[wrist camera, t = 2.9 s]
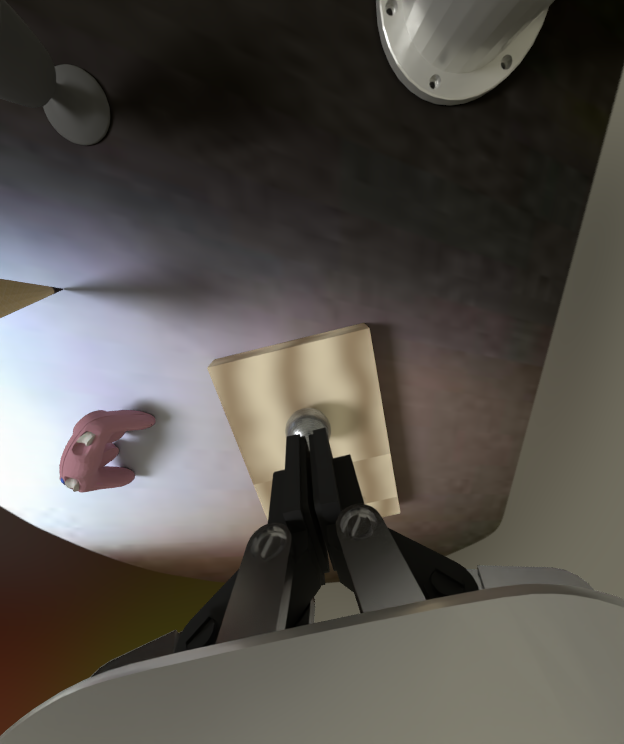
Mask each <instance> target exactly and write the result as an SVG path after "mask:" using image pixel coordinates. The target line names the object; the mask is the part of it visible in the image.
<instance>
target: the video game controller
mask: <svg viewBox="0 0 624 744" xmlns="http://www.w3.org/2000/svg"><path fill="white" fill-rule="evenodd" d="M154 424H155V418H154V416H152V415H150V414H148V413H145V412H141V411H134V410H119V411H109V412H106V411H103V410H98V411H94V412H91V413H89V414H87V415H85V416H84V417H83V418H82V419H80V421H79V422H78V423H77V424H76V425H75V427H74V429H73V435H72V437H71V438H70V440H69V441H68V443H67V445H66V447H65V449H64V451H63V454H62V457H61V461H60V480H61V482H62V483H63V484H64V485H66V486H67V487H68V488H70V489H73V491H74V492H76V491H79V492H89V491H94V490H99V489H106V488H115V487H121V486H124V485H126V484H129V483H130V482H132V481H133V480H134V478H135V474H134V472H133V471H132V470H129V469H127V468H122V467H109V466H105V465H106V464H107V463H109V462H110V461H112V460H113V459H114V458H115V457H116V456H117V455H118V453H119V449H118V448H117V447H116V446H115V445H114V444H113V443H112V442H114V441H117V440H119V439H120V438H121V437H122V436H123V435H124V433H125V432H126V431H131V430H142V429H146V428H149V427H151V426H153V425H154Z"/></svg>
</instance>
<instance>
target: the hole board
mask: <svg viewBox="0 0 624 744" xmlns="http://www.w3.org/2000/svg"><path fill="white" fill-rule="evenodd" d="M207 369H208V371H209V374H210V376H211V379H212V381H213V384H214V386H215V389H216V391H217V394H218V396H219V399H220V401H221V404H222V406H223V409H224V411H225V414H226V416H227V419H228V421H229V424H230V426H231V429H232V431H233V434H234V437H235V439H236V442H237V444H238V447H239V449H240V452H241V454H242V457H243V459H244V462H245V464H246V467H247V469H248V472H249V474H250V477H251V479H252V482H253V484H254V487H255V489H256V492H257V494H258V497H259V499H260V502H261V504H262V507H263V510H264V512H265V515H266V517H267V520H268V516H269V507H270V498H271V488H272V479H273V473H274V472H275V471H280V470H284V469H285V454H286V434H285V428H286V424H287V421H288V419H289V418H290V416H291V415H292V414H293V413H294V412H296V411H297V410H299V409H302V408H314V409H317V410H319V411H321V412H322V413H323V414H325V416H326V417H327V418H328V420H329V422H330V425H331V437H330V440H329V443H330V447H331V451H332V455H333V458H336V457H341V456H345V455H349V454H350V455H351V458H352V462H353V465H354V469H355V472H356V476H357V479H358V483H359V486H360V490H361V493H362V497H363V500H364V504H366V505H369V506H372V507H373V508H375V509H376V510H377V511H378V512H379V514H380V515H381V517H385V516H390V515H394V514H399V513H400V508H399V502H398V496H397V490H396V484H395V478H394V472H393V466H392V460H391V454H390V448H389V442H388V436H387V430H386V424H385V418H384V412H383V406H382V400H381V394H380V388H379V382H378V376H377V370H376V364H375V358H374V352H373V346H372V340H371V334H370V328H369V327H368V326H367V325H365V324H364V323H361V324H357V325H353V326H349V327H345V328H341V329H337V330H333V331H329V332H325V333H321V334H316V335H312V336H308V337H304V338H300V339H296V340H292V341H288V342H284V343H280V344H276V345H272V346H268V347H264V348H260V349H255V350H251V351H247V352H243V353H239V354H235V355H231V356H227V357H223V358H219V359H215V360H213V362H212V363H211V364H210V365H209V366H208V368H207Z"/></svg>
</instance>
